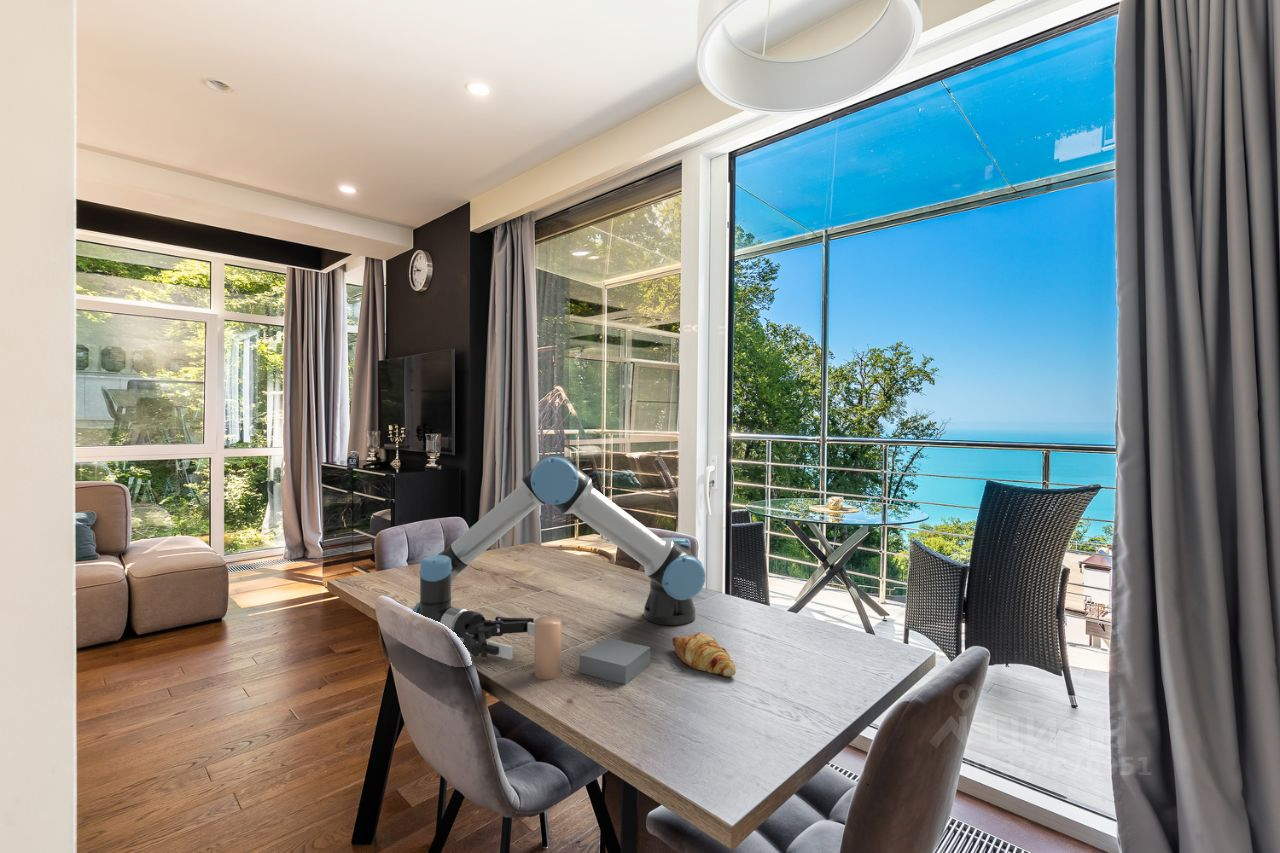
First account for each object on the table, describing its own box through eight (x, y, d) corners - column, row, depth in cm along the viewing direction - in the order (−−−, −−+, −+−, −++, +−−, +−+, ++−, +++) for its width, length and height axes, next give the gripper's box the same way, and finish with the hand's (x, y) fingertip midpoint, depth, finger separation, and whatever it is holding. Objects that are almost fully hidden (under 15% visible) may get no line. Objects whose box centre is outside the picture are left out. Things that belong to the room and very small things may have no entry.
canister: (545, 665, 135) (545, 614, 135) (566, 671, 132) (566, 619, 132) (528, 675, 130) (529, 622, 129) (550, 681, 127) (550, 627, 127)
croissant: (743, 691, 131) (755, 657, 133) (715, 681, 125) (728, 645, 127) (680, 658, 148) (692, 627, 150) (654, 648, 142) (666, 616, 144)
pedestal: (607, 653, 142) (607, 637, 142) (650, 664, 137) (650, 647, 136) (579, 672, 132) (579, 655, 132) (625, 684, 126) (625, 666, 126)
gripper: (498, 625, 153) (563, 640, 143) (422, 659, 132) (493, 680, 121) (498, 597, 153) (564, 610, 143) (423, 626, 131) (493, 644, 121)
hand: (531, 642), depth 132 cm, fingers open, 13 cm apart
